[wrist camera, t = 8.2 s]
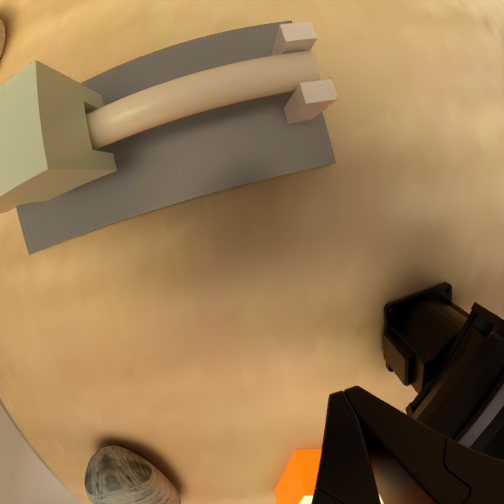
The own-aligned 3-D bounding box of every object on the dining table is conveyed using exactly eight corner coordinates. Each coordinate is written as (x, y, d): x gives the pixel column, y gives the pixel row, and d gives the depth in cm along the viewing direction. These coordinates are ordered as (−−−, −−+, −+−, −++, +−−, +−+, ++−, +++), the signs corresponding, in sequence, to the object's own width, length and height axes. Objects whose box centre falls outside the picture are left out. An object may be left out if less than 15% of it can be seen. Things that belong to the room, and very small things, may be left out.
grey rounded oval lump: (58, 444, 20) (80, 531, 12) (140, 423, 24) (178, 509, 17) (108, 488, 26) (134, 550, 19) (171, 470, 31) (204, 530, 23)
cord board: (288, 30, 16) (307, -24, 10) (328, 164, 19) (371, 158, 12) (15, 132, 17) (-43, 125, 10) (40, 250, 19) (-17, 275, 12)
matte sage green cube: (101, 95, 13) (35, 60, 7) (117, 170, 14) (47, 168, 8) (35, 130, 14) (-38, 119, 7) (48, 200, 15) (-28, 215, 8)
